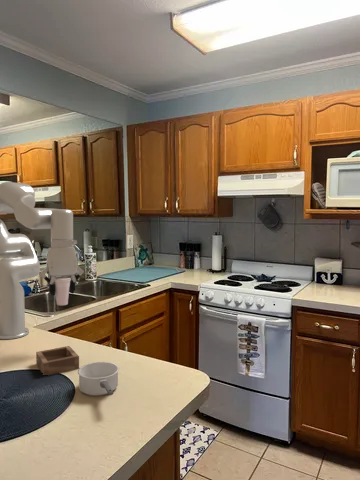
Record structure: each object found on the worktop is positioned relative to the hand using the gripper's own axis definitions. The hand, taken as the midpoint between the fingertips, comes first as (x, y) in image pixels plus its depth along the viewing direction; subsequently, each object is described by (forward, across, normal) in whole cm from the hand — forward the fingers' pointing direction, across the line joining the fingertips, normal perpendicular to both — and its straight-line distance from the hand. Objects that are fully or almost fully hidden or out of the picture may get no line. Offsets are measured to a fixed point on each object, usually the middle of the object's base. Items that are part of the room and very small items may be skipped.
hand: (62, 293), depth 130 cm
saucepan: (+21, 0, +39) cm, 44 cm away
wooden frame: (+21, +5, +14) cm, 25 cm away
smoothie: (+4, 0, 0) cm, 4 cm away
